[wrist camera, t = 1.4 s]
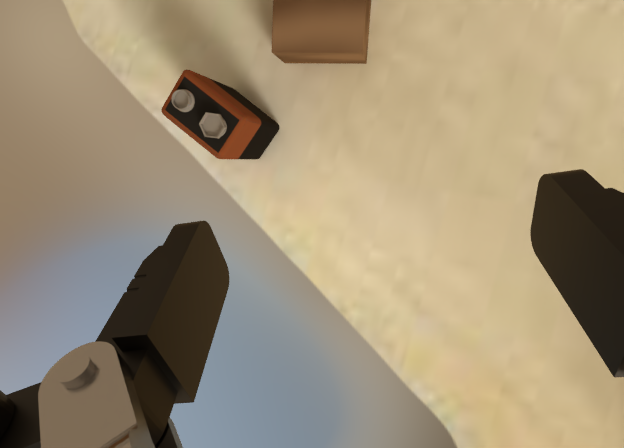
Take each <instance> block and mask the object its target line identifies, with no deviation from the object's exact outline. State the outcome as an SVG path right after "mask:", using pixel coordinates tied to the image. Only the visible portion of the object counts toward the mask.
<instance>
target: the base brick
mask: <svg viewBox="0 0 624 448" xmlns="http://www.w3.org/2000/svg"><path fill="white" fill-rule="evenodd" d="M370 9H371V0H274V1H273V30H272V53H273V54H275V55H276V56H277V57H278V58H279V59H281V60H282V61H283V62H284V63H366V61H367V48H368V35H369V22H370Z"/></svg>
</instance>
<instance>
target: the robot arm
mask: <svg viewBox="0 0 624 448" xmlns="http://www.w3.org/2000/svg"><path fill="white" fill-rule="evenodd" d="M531 242H532V246H533V249H534V252H535V254H536V256H537V257H538V259H539V261H540V262H541V264H542V265H543V267H544V268H545V270H546V272H547V273H548V275H549V276H550V278H551V279H552V281H553V282H554V284H555V286H556V287H557V289H558V290H559V292H560V293H561V295H562V297H563V298H564V300H565V301H566V303H567V304H568V306H569V307H570V309H571V311H572V312H573V314H574V315H575V317H576V318H577V320H578V322H579V323H580V325H581V326H582V328H583V329H584V331H585V332H586V334H587V336H588V337H589V339H590V340H591V342H592V343H593V345H594V347H595V348H596V350H597V351H598V353H599V354H600V356H601V358H602V359H603V361H604V362H605V364H606V365H607V367H608V368H609V370H610V372H611V373H612V375H613V376H614V377H624V193H622V192H620V191H617V190H615V189H613V188H607V189H605V188H604V187H603V186H601V185H600V184H599V183H598V182H597V181H596V180H595V179H594V178H593V177H592V176H591V175H590V174H588V173H587V172H586V171H585V170H581V169H579V170H572V171H565V172H558V173H551V174H544V175H543V176H542V177H541V178H540V180H539V183H538V189H537V195H536V201H535V207H534V213H533V219H532V225H531ZM134 277H135V279H132V281H131V282H130V284H129V286H128V287H127V292H125V293H124V294H123V296H122V298H121V299H120V301H119V303H118V304H117V306H116V308H115V309H114V311H113V313H112V314H111V316H110V318H109V320H108V321H107V323H106V325H105V326H104V328H103V330H102V331H101V333H100V335H99V336H98V338H97V340H96V341H95V342H92V343H88V344H85V345H82V346H80V347H78V348H76V349H74V350H72V351H71V352H69V353H68V354H66V355H65V356H64V357H62V358H61V359H60V360H59V361H58V362H57V363H56V364H55V365H54V366H53V367H52V368H51V369H50V370H49V371H48V373H47V374H46V376H45V377H44V379H43V381H42V382H41V383H38V384H35V385H33V386H30V387H27V388H24V389H22V390H19V391H16V392H13V393H11V394H8V395H5V394H4V393H3V392H2V391H0V448H183V447H182V444H181V441H180V439H179V436H178V434H177V431H176V428H175V426H174V423H173V422H172V420H171V419H170V417H169V416H170V413H171V411H172V408H173V404H174V403H190V402H194V399H195V396H196V393H197V390H198V386H199V382H200V379H201V376H202V373H203V370H204V366H205V363H206V360H207V357H208V353H209V350H210V347H211V343H212V340H213V337H214V333H215V330H216V327H217V324H218V320H219V317H220V314H221V310H222V307H223V304H224V300H225V297H226V294H227V290H228V287H229V271H228V267H227V264H226V261H225V259H224V257H223V255H222V252H221V250H220V247H219V245H218V243H217V241H216V238H215V236H214V234H213V232H212V229H211V227H210V225H209V224H208V223H207V222H206V221H198V222H191V223H183V224H177V225H175V226H174V227H173V229H172V230H171V232H170V234H169V236H168V237H167V239H166V241H165V243H164V244H163V246H158V247H157V248H156V249H155V250H154V251H153V252H152V253H151V254H150V255H149V256H148V257H147V258H146V259H145V260H144V261H143V262H142V264H141V266H140V267H139V269H138V271H137V272H136V274H135V276H134Z"/></svg>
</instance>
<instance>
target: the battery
mask: <svg viewBox="0 0 624 448" xmlns="http://www.w3.org/2000/svg"><path fill="white" fill-rule="evenodd" d="M162 113H163V114H164V115H165V116H166V117H167V118H168V119H169V120H171V121H172V122H173V123H174V124H175V125H177V126H178V127H179V128H180V129H182V130H183V131H184V132H185V133H187V134H188V135H189V136H190V137H192V138H193V139H194V140H195V141H197V142H198V143H199V144H200V145H201V146H203V147H204V148H205V149H206V150H208V151H209V152H210V153H211V154H213V155H214V156H215V157H216V158H218V159H259V158H260V157H261V155H262V154H263V152H264V151H265V149H266V148H267V146H268V145H269V144H270V142H271V141H272V139H273V138H274V136H275V135H276V133H277V132H278V130H279V125H278V124H277V123H276V122H275V121H274V120H272V119H271V118H270V117H269V116H267V115H266V114H265V113H264V112H262V111H261V110H260V109H259V108H257V107H256V106H255V105H253V104H252V103H251V102H250V101H248V100H247V99H246V98H245V97H243V96H242V95H241V94H239V93H238V92H237V91H236V90H234V89H233V88H230V87H228V86H226V85H223V84H221V83H219V82H216V81H214V80H212V79H209V78H207V77H205V76H202V75H200V74H198V73H195V72H193V71H190V70H185V71H183V73H182V75H181V76H180V78H179V80H178V81H177V83H176V85H175V87H174V88H173V90H172V92H171V93H170V95H169V97H168V99H167V100H166V102H165V104H164V106H163V107H162Z"/></svg>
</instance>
